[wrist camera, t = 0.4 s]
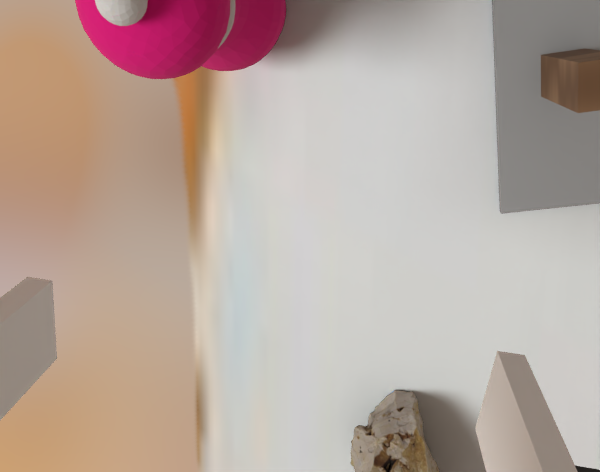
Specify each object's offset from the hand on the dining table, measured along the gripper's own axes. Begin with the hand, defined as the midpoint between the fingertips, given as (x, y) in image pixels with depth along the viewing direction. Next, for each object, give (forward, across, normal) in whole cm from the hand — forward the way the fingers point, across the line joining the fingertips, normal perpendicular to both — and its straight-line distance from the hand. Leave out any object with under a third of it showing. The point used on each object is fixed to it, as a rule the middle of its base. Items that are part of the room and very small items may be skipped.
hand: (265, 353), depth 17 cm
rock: (+26, +10, -25) cm, 37 cm away
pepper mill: (+26, -7, +9) cm, 28 cm away
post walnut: (+25, +14, +8) cm, 30 cm away
